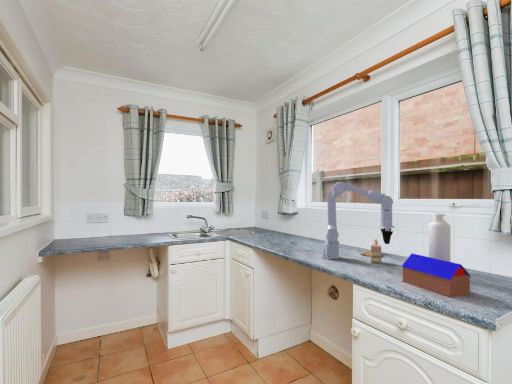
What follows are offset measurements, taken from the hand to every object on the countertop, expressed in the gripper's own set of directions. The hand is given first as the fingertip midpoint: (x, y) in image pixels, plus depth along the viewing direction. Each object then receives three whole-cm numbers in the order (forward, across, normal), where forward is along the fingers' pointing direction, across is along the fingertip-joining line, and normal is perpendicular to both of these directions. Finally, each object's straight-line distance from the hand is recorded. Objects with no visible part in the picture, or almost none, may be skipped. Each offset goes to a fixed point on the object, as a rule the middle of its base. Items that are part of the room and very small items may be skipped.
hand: (386, 242), depth 152 cm
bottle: (+11, -21, -20) cm, 31 cm away
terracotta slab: (+5, -3, +5) cm, 8 cm away
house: (+11, -39, -14) cm, 43 cm away
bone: (+11, +17, +6) cm, 21 cm away
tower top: (+8, -3, +5) cm, 10 cm away
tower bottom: (+11, -3, +5) cm, 12 cm away
